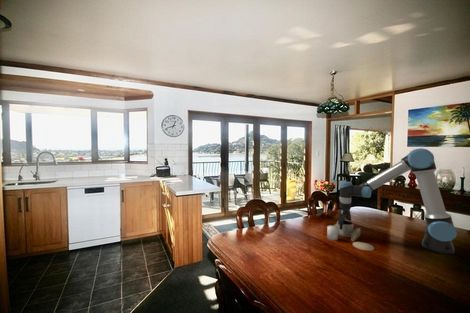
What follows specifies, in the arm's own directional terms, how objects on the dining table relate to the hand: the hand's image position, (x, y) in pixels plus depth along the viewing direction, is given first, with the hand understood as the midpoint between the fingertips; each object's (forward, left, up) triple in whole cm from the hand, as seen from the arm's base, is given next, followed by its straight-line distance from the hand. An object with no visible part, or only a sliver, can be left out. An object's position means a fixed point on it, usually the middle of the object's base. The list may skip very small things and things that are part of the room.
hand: (344, 231), depth 156 cm
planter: (0, 0, -3) cm, 3 cm away
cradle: (0, 0, -3) cm, 3 cm away
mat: (-15, +12, -3) cm, 20 cm away
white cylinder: (+4, +13, -3) cm, 14 cm away
